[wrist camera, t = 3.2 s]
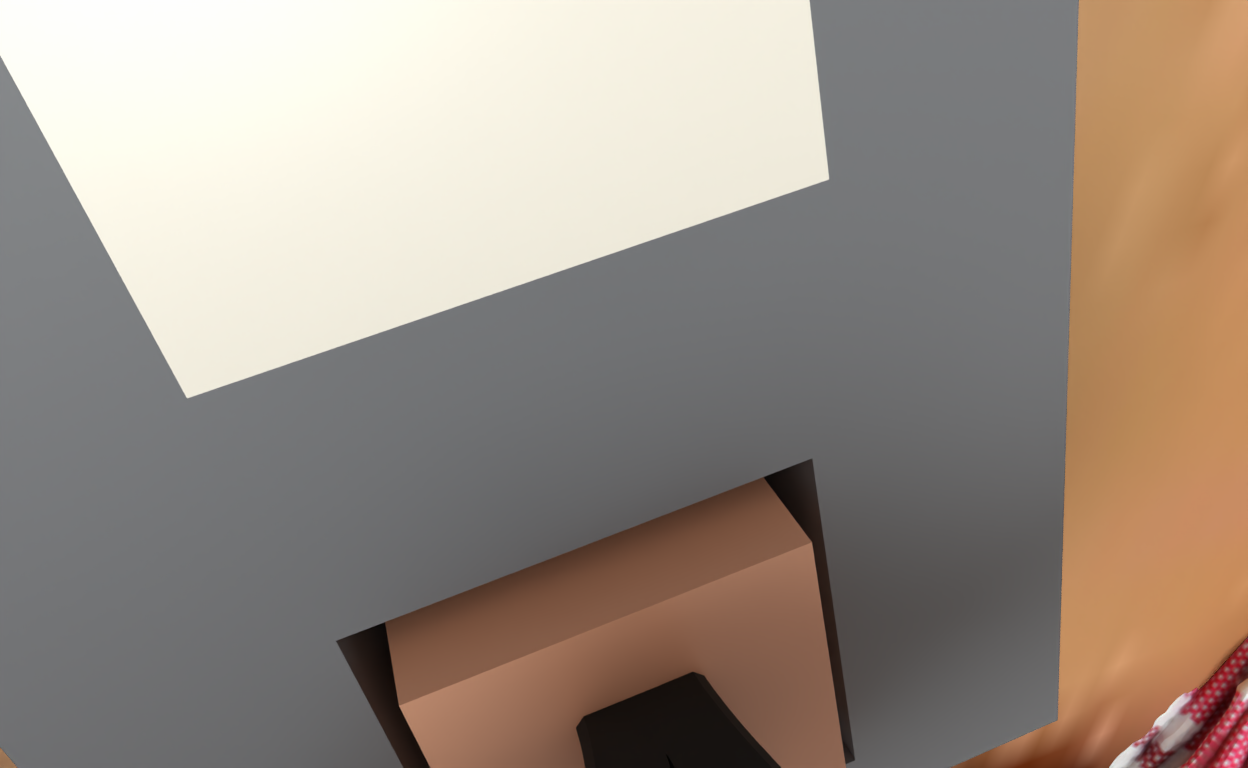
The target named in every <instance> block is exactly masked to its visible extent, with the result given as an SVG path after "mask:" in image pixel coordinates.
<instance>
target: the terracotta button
mask: <svg viewBox="0 0 1248 768" xmlns="http://www.w3.org/2000/svg"><path fill="white" fill-rule="evenodd" d="M385 624H386V630H387V636H388V642H389V648H390V654H391V660H392V666H393V673H394V679H395V685H396V691H397V697H398V703H399V707H400V709H401V711H402V713H403V715H404V717H405V719H406V721H407V723H408V725H409V727H410V729H411V730H412V732H413V734H414V736H415V738H416V740H417V742H418V744H419V746H420V748H421V750H422V752H423V754H424V756H425V758H426V760H427V762H428V764H429V766H430V768H585V764H584V759H583V754H582V749H581V745H580V741H579V737H578V734H577V730H576V727H577V725H578V724H579V722H580V721H581V719H582V718H583V717H584V716H586V715H588V714H591V713H593V712H596V711H598V710H601V709H603V708H605V707H608V706H610V705H613V704H615V703H618V702H620V701H623V700H625V699H627V698H630V697H632V696H635V695H637V694H640V693H642V692H645V691H647V690H650V689H652V688H654V687H657V686H659V685H662V684H664V683H666V682H669V681H671V680H674V679H676V678H679V677H681V676H683V675H686V674H688V673H691V672H695V673H698V674H701V675H704V676H705V677H706V679H707V680H708V682H709V683H710V684H711V686H712V687H713V689H714V690H715V691H716V693H717V694H718V695H719V696H720V698H721V699H722V700H723V702H724V703H725V704H726V705H727V707H728V708H729V709H730V710H731V712H732V713H733V714H734V715H735V716H736V718H737V719H738V720H739V721H740V722H741V724H742V725H743V726H744V727H745V728H746V729H747V730H748V732H749V733H750V734H751V735H752V736H753V737H754V738H755V740H756V741H757V742H758V743H759V744H760V745H761V746H762V747H763V748H764V749H765V750H766V752H767V753H768V754H769V755H770V756H771V757H772V758H773V759H774V760H775V761H776V762H777V763H778V765H779V766H780V767H781V768H846V764H845V757H844V751H843V744H842V737H841V731H840V724H839V717H838V711H837V704H836V698H835V691H834V684H833V678H832V671H831V665H830V658H829V651H828V645H827V638H826V632H825V625H824V618H823V612H822V605H821V599H820V592H819V585H818V579H817V572H816V565H815V559H814V552H813V546H812V542H811V540H810V539H809V538H808V536H807V535H806V534H805V532H804V531H803V530H802V528H801V527H800V526H799V524H798V523H797V522H796V520H795V519H794V518H793V516H792V515H791V514H790V512H789V511H788V510H787V508H786V507H785V506H784V504H783V503H782V501H781V500H780V499H779V497H778V496H777V495H776V493H775V492H774V491H773V489H772V488H771V487H770V485H769V484H768V483H767V481H766V480H765V479H764V477H762V478H760V479H757V480H754V481H752V482H749V483H746V484H744V485H741V486H739V487H736V488H733V489H731V490H728V491H726V492H723V493H720V494H718V495H715V496H713V497H710V498H707V499H705V500H702V501H700V502H697V503H694V504H692V505H689V506H686V507H684V508H681V509H679V510H676V511H673V512H671V513H668V514H666V515H663V516H660V517H658V518H655V519H653V520H650V521H647V522H645V523H642V524H639V525H637V526H634V527H632V528H629V529H626V530H624V531H621V532H619V533H616V534H613V535H611V536H608V537H606V538H603V539H600V540H598V541H595V542H593V543H590V544H587V545H585V546H582V547H579V548H577V549H574V550H572V551H569V552H566V553H564V554H561V555H559V556H556V557H553V558H551V559H548V560H546V561H543V562H540V563H538V564H535V565H533V566H530V567H527V568H525V569H522V570H519V571H517V572H514V573H512V574H509V575H506V576H504V577H501V578H499V579H496V580H493V581H491V582H488V583H486V584H483V585H480V586H478V587H475V588H473V589H470V590H467V591H465V592H462V593H459V594H457V595H454V596H452V597H449V598H446V599H444V600H441V601H439V602H436V603H433V604H431V605H428V606H426V607H423V608H420V609H418V610H415V611H412V612H410V613H407V614H405V615H402V616H399V617H397V618H394V619H392V620H389V621H386V622H385Z"/></svg>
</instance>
